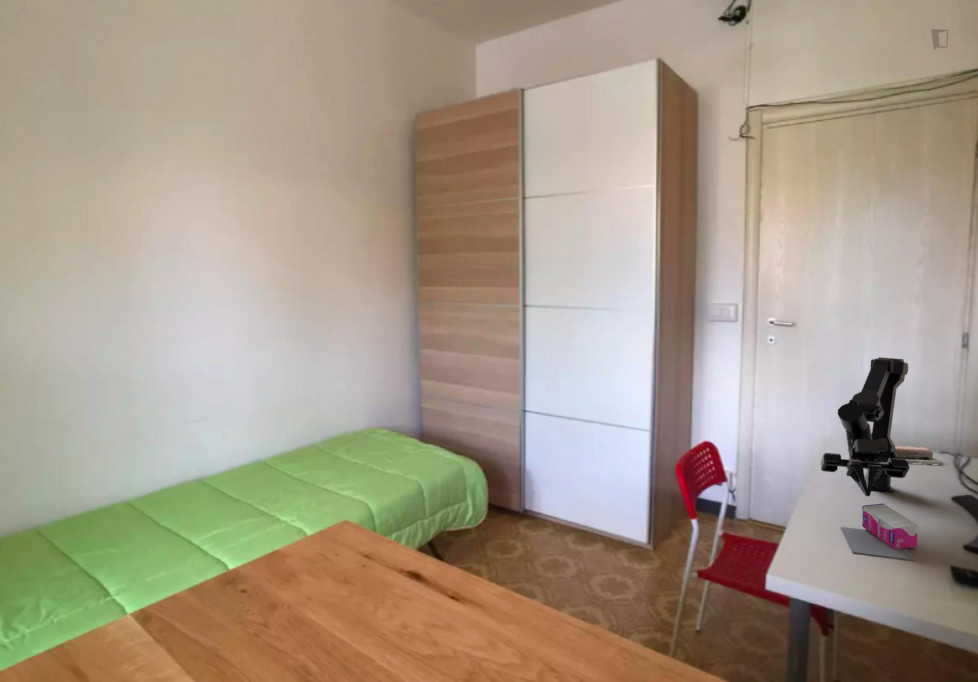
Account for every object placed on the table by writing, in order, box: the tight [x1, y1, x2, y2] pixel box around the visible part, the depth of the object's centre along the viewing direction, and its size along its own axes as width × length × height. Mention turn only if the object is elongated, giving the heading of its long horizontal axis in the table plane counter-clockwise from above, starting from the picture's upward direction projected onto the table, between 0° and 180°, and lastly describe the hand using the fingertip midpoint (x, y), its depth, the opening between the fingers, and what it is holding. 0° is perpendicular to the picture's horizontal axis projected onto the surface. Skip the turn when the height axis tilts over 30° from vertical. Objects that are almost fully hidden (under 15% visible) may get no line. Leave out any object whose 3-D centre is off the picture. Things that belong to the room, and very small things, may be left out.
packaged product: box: [894, 444, 940, 465], centre depth 197 cm, size 18×5×10 cm
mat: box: [840, 526, 916, 562], centre depth 138 cm, size 14×12×1 cm
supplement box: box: [861, 502, 919, 549], centre depth 139 cm, size 6×6×12 cm
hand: (867, 495), depth 144 cm, fingers closed
